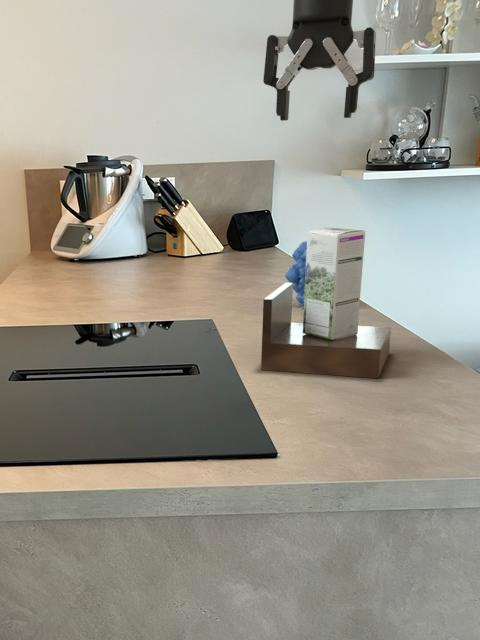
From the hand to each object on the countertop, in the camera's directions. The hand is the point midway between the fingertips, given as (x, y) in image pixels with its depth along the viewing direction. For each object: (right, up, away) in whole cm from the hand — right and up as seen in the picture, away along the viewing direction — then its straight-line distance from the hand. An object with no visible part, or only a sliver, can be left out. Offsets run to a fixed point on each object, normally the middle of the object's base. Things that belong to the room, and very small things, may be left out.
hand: (315, 119), depth 107 cm
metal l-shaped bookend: (+3, -32, +7) cm, 33 cm away
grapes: (+8, -15, +46) cm, 50 cm away
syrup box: (+3, -29, +6) cm, 29 cm away
